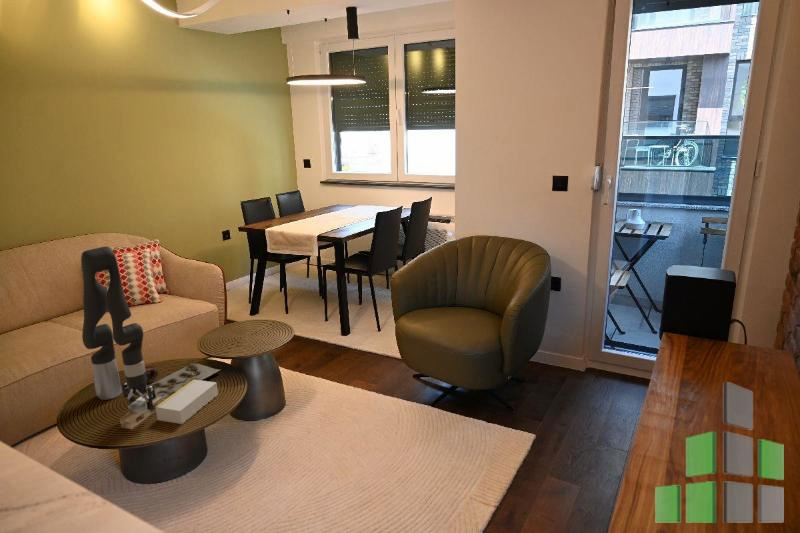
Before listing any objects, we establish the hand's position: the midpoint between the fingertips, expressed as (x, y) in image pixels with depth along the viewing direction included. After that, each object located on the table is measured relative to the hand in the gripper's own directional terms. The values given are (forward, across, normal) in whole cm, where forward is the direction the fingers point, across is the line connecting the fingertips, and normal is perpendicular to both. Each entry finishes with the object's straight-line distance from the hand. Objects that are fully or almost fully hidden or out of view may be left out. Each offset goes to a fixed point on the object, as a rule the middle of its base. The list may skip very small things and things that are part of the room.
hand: (141, 407), depth 208 cm
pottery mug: (+4, -22, +28) cm, 35 cm away
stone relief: (+4, -4, +28) cm, 29 cm away
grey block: (0, 0, -2) cm, 2 cm away
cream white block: (0, -1, +3) cm, 3 cm away
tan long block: (+5, -1, 0) cm, 5 cm away
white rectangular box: (+4, +14, +11) cm, 18 cm away
